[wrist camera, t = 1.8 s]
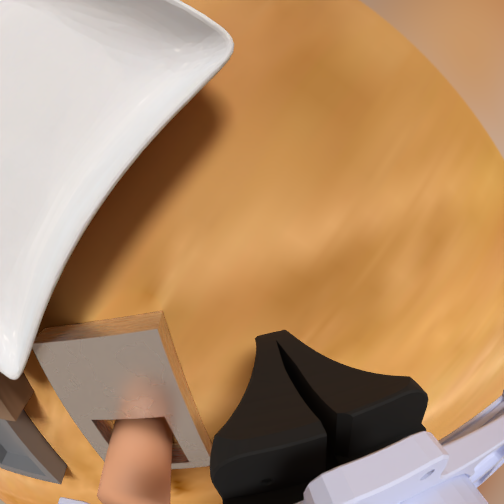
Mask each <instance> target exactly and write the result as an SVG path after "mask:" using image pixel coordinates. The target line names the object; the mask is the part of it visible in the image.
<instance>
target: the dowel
mask: <svg viewBox="0 0 504 504" xmlns="http://www.w3.org/2000/svg"><path fill="white" fill-rule="evenodd" d="M172 443H173V432H172V430H171V428H170V426H169V424H168V422H167V420H166V418H165V417H153V418H139V419H116V421H115V424H114V428H113V431H112V435H111V439H110V443H109V446H108V450H107V454H106V458H105V462H104V467H103V471H102V475H101V479H100V484H99V489H98V493H97V496H98V499H99V500H100V501H101V502H102V503H103V504H170V490H171V462H172Z"/></svg>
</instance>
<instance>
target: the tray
mask: <svg viewBox="0 0 504 504" xmlns="http://www.w3.org/2000/svg"><path fill="white" fill-rule="evenodd" d="M0 467H1V468H2V469H5V470H8V471H11V472H14V473H18V474H21V475H25V476H28V477H32V478H36V479H40V480H44V481H48V482H53V483H58V484H61V483H62V480H63V477H64V474H65V470H66V467H67V465H66V464H65V462H64V461H63V460H62V459H61V458H60V457H59V456H58V454H57V453H56V452H55V451H54V450H53V448H52V447H51V446H50V445H49V444H48V442H47V441H46V440H45V439H44V437H43V436H42V435H41V433H40V432H39V431H38V429H37V428H36V427H35V425H34V424H33V423H32V421H31V420H30V418H29V417H28V416H27V414H26V413H25V411H24V410H22V412H21V414H20V415H19V417H18V419H17V420H16V421H10V420H4V419H0Z"/></svg>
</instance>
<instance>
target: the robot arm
mask: <svg viewBox="0 0 504 504" xmlns="http://www.w3.org/2000/svg"><path fill="white" fill-rule="evenodd" d="M255 340H256V346H257V347H256V358H255V364H254V368H253V372H252V375H251V379H250V382H249V384H248V387H247V389H246V392H245V394H244V396H243V398H242V400H241V402H240V403H239V405H238V407H237V408H236V410H235V411H234V413H233V414H232V416H231V417H230V419H229V420H228V421H227V423H226V424H225V425H224V426H223V427H222V428H221V430H220V431H219V432H218V433H217V434H216V435H215V437H214V441H213V445H212V449H211V455H210V475H211V480H212V483H213V484H214V486H215V488H216V489H217V491H218V493H219V494H220V496H221V497H222V500H223V504H489V503H488V502H487V501H486V500H485V498H484V497H483V496H482V495H481V493H480V492H479V491H478V489H477V487H478V486H479V485H480V484H482V483H483V482H484V481H485V480H486V479H487V478H488V477H490V476H491V475H492V474H493V473H494V472H495V471H496V470H497V469H498V468H499V467H500V466H501V465H502V464H503V463H504V390H503V394H502V395H501V396H500V397H499V398H498V399H496V400H495V401H494V402H493V403H492V404H490V405H489V406H488V407H487V408H485V409H484V410H483V411H481V412H480V413H479V414H477V415H476V416H475V417H473V418H472V419H471V420H469V421H468V422H466V423H465V424H464V425H462V426H461V427H459V428H458V429H456V430H455V431H453V432H452V433H450V434H449V435H447V436H445V437H444V438H442V439H441V440H439V441H437V439H436V438H435V437H434V436H433V435H432V433H430V432H426V428H425V427H424V426H423V425H422V424H421V423H422V420H423V417H424V414H425V411H426V408H427V403H428V396H427V393H426V392H425V391H424V390H423V389H422V388H421V387H420V386H419V385H418V384H417V383H416V382H415V381H414V380H413V379H412V378H411V377H407V376H391V375H382V374H376V373H371V372H366V371H362V370H359V369H355V368H352V367H349V366H346V365H343V364H341V363H338V362H336V361H333V360H331V359H329V358H327V357H325V356H323V355H321V354H320V353H318V352H316V351H315V350H313V349H311V348H310V347H308V346H307V345H305V344H304V343H302V342H301V341H300V340H298V339H297V338H296V337H294V336H293V335H292V334H290V333H289V332H288V331H286V330H282V331H277V332H273V333H269V334H264V335H260V336H257V337H256V338H255ZM58 504H89V503H87V502H84V501H79V500H74V499H69V498H64V497H60V499H59V502H58Z"/></svg>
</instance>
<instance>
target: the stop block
mask: <svg viewBox="0 0 504 504" xmlns="http://www.w3.org/2000/svg"><path fill="white" fill-rule="evenodd" d="M33 392H34V391H33V389H32V387H31V386H30V384H29V382H28V381H27V379H26V377H25V375H24V373H22V374H21V376H20V377H19V378H18V379H16V380H12V379H10V378H8V377H7V376H5V375H4V374H3V373H1V372H0V419H4V420H10V421H16V420H17V419H18V417H19V415H20V414H21V412H22V410H23V409H24V407H25V405H26V404H27V402H28V400H29V399H30V397H31V396H32V394H33Z"/></svg>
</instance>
